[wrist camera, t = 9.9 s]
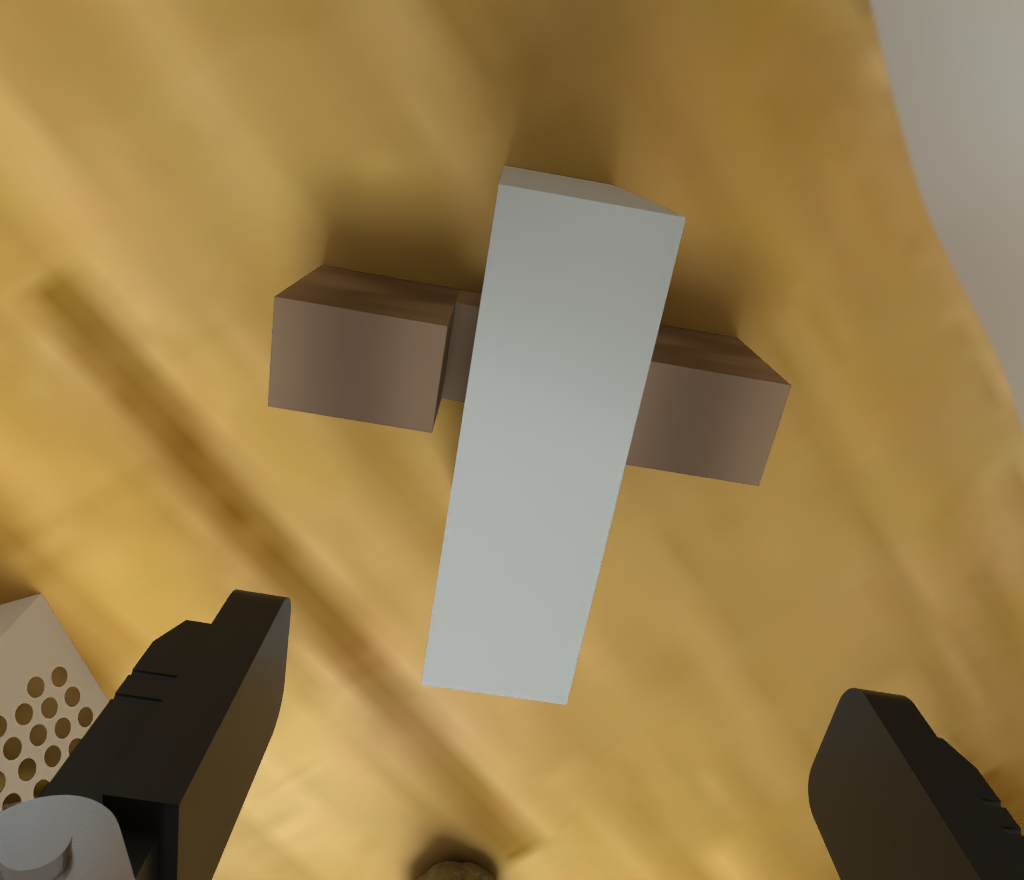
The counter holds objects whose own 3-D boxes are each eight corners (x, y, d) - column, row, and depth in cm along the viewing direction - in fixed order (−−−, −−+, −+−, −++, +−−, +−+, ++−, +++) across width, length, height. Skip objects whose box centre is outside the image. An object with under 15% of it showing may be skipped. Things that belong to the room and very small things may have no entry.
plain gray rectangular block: (614, 185, 27) (686, 217, 16) (547, 506, 32) (566, 704, 21) (504, 165, 27) (498, 183, 16) (452, 492, 32) (421, 684, 20)
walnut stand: (738, 338, 29) (791, 385, 24) (713, 422, 31) (758, 486, 25) (321, 265, 28) (274, 296, 23) (314, 355, 29) (268, 406, 24)
